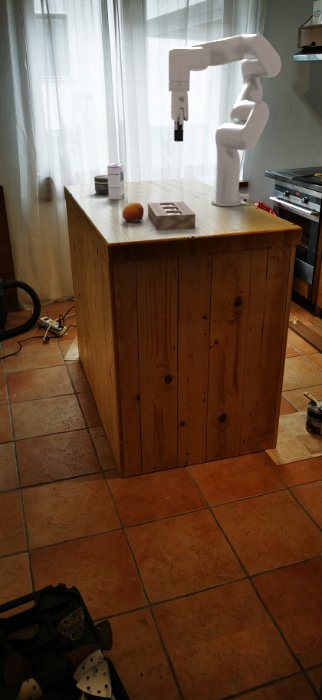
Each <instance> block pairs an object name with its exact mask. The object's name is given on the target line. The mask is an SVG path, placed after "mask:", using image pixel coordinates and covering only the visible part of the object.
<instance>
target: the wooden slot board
mask: <svg viewBox="0 0 322 700" xmlns="http://www.w3.org/2000/svg"><path fill="white" fill-rule="evenodd" d="M161 205H173V206H161ZM164 209H176V210H164ZM167 213H180V214H171V215H168V214H167ZM147 217H148V218H149V219H148V220H150V221H151V224H152V225H153V227H154V229H155V230H156V231H163V230H164V231H165V230H166V231H167V230H187V229H188V230H189V229H190V230H192V229H196V213H195V211H193V210H192V209H191V207H189V206H188V205H187V204H186V203H185V202H184V201H172V202H171V201H169V202H167V201H166V202H148V203H147Z"/></svg>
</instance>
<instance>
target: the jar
mask: <svg viewBox="0 0 322 700" xmlns="http://www.w3.org/2000/svg"><path fill="white" fill-rule="evenodd" d="M93 180H94V181H93V182H94V191H95V194H96V195H99V196H109V189H108V174H100V175H95V176H94V178H93Z"/></svg>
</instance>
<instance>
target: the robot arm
mask: <svg viewBox="0 0 322 700" xmlns="http://www.w3.org/2000/svg"><path fill="white" fill-rule="evenodd" d="M239 61H241V68H240V69H241V75H242V81H243V82H242V83H243V86H242V88H241V90H240V92H239V95H238V97H237V99H236V101H235V103H234V105H233V106H232V109H231V111H230V116H229V117H230V122H232V123H230V122H227V123H223V124H221V125H220V126H218V128H217V129H216V130H215V137H214V140H215V146H216V176H215V177H216V179H215V198H213V199H212V200H211V205H214V206H217V207H237V206H240V205H242V200H244V199H245V200H249V199H250V194H248V193H247V194H245V193H240V191H239V190H240V189H239V187H240V170H241V169H240V168H241V156H240V153H239V151H249V150H250V151H251V149H253V148H254V147H255V145H256V144H257V142H258V140H259V138H260V137H261V134H262V133H263V131H264V129H265V127H266V125H267V124H268V120H269V118H270V117H269V116H270V109H269V106H268V104H267V103H266V102H264V101H263V100H261V99H262V97H263V87H262V84H261V81H260V78H261V79H262V78H263V79H264V78H266V79H267V78H269V79H270V78H275V77H276V76H278V75H279V73H280V72H281V68H282V60H281V58H280V55H279V54H278V52H277V51H276V49H274V46H272V44H271V43H270V42H269V41H268V39H267V38H265V36H263V35H262V34H261V33H260V34H259V33H249V34H238V35H237V34H236V35H234V36H230V37H225V38H221V39H216V40H212V41H207V42H203V43H198V44H193V45H192V44H191V45H190V46H189V45H188V46H185V47H171V48H170V49H169V50H168V92H171V96H170V97H171V98H170V99H171V101H170V115H171V120H172V121H173V125H174V126H173V128H174V129H173V141H174V142H176V143H177V142H184V121H185V122H188V121H189V95H188V93H189V92H190V88H191V87H190V85H191V84H190V82H191V78H190V75H191V73H190V72H202V71H205V70H206V69H208V67H217V66H218V67H219V66H224V65H228V64H231V63H235V62H239ZM238 150H239V151H238Z"/></svg>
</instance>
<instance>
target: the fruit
mask: <svg viewBox="0 0 322 700" xmlns="http://www.w3.org/2000/svg"><path fill="white" fill-rule="evenodd" d="M144 213H145V210H144V206H143V205H142V204H141V203H140V202H130V203H127V204H126V205H125V206H124V208H123V210H122V218H123V220H125V221H126V223H127V222H128V223H138V221H142V222H144V220H143V217H144Z"/></svg>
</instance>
